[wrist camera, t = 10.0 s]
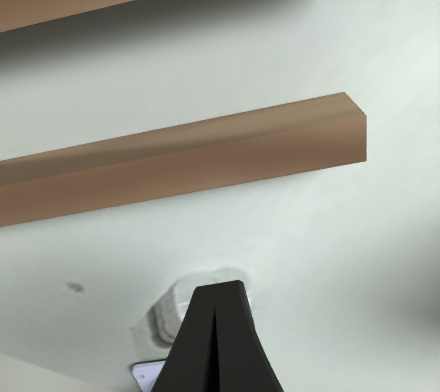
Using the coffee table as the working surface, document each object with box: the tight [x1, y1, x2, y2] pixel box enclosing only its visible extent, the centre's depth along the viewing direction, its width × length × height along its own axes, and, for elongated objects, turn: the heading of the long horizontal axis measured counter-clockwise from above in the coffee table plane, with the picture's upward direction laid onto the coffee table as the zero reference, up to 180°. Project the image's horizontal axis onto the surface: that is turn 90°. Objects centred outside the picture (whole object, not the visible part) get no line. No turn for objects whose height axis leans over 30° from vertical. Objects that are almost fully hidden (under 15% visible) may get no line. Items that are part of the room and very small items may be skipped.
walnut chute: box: [0, 0, 366, 227], centre depth 15 cm, size 10×22×3 cm, turn 102°
